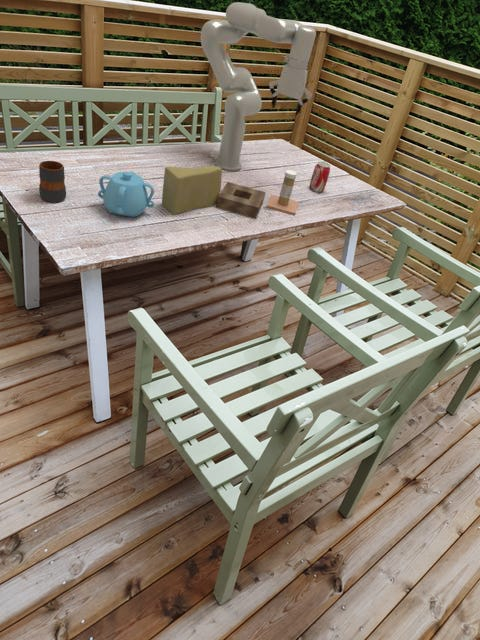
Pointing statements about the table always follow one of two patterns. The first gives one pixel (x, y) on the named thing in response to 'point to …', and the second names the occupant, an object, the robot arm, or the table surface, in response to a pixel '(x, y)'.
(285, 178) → the sprinkles bottle
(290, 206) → the terracotta tile
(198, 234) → the table surface
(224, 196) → the frame
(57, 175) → the mug
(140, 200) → the decorative pot
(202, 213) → the table surface
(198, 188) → the cheese
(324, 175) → the soda can
